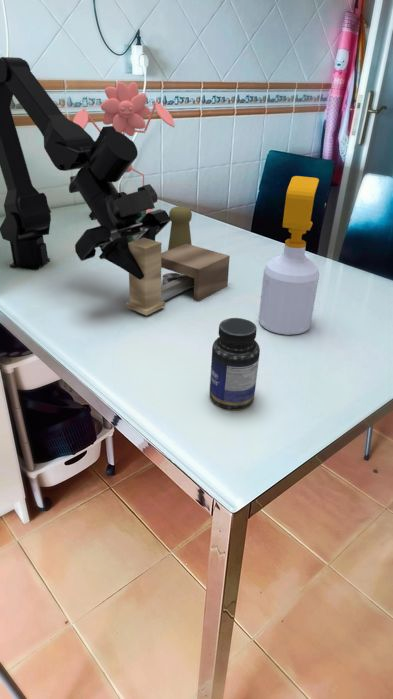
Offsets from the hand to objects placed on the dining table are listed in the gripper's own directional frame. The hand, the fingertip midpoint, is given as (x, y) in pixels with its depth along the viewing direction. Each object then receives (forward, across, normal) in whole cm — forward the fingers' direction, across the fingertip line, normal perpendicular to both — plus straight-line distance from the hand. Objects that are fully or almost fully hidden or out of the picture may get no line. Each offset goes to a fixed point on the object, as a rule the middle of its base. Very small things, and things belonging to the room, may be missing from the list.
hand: (150, 274), depth 83 cm
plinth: (+4, +14, +6) cm, 16 cm away
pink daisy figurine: (-24, +37, +35) cm, 56 cm away
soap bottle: (+20, +12, -10) cm, 25 cm away
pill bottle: (+23, -12, -13) cm, 30 cm away
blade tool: (+4, +6, +6) cm, 9 cm away
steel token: (+2, +12, +9) cm, 15 cm away
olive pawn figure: (-6, +27, +16) cm, 32 cm away
